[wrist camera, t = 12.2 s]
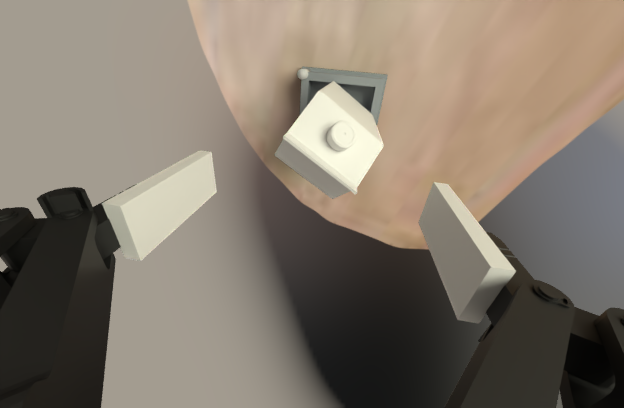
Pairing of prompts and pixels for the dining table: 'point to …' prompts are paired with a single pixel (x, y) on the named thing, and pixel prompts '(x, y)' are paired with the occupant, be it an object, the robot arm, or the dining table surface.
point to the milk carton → (332, 142)
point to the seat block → (344, 86)
